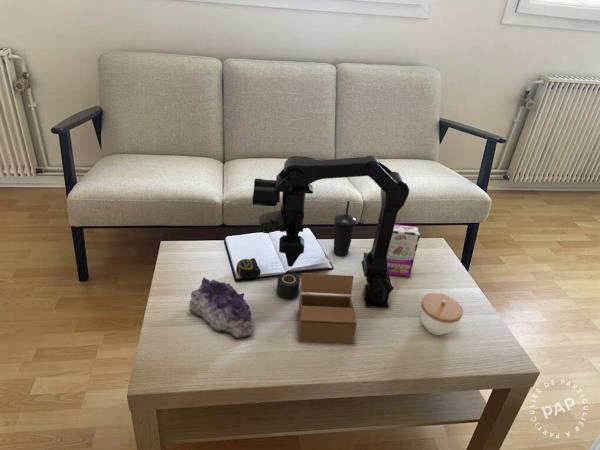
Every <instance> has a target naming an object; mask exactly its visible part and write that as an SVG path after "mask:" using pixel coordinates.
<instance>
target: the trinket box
mask: <svg viewBox="0 0 600 450" xmlns="http://www.w3.org/2000/svg"><path fill="white" fill-rule="evenodd" d="M463 314H464V309H463V307H462V305H461V304H460V303H459V302H458V301H457V300H456V299H455V298H453V297H452V296H450V295H447V294H443V293H440V292H431V293H428V294H425V295H424V296H423V297H422V299H421V302H420V307H419V318H420V322H421V324H422V325H423V326H424V328H425V330H426V331H427V332H429V333H430V334H432V335H436V336H442V335H443V336H444V335H447V334H450V333H451V332H453V331H454V330H455V329H456V328H457V326H458V325H459V323H460V321H461V318H462V317H463Z"/></svg>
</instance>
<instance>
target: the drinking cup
mask: <svg viewBox="0 0 600 450" xmlns="http://www.w3.org/2000/svg"><path fill="white" fill-rule="evenodd" d="M349 207H350V200H347V201H346V208H345V212H338V213H336V214H335V215H334V217H333V220H334V229H333V231H334V232H333V233H334V234H333V253H334V255H335V256H337V257H340V258H343V257H347V255H348V254H349V251H350V247H351V243H352V240H353V235H354V232H355V229H356V224H357V223H358V217H357V216H355V215H353V214H352V213H349Z"/></svg>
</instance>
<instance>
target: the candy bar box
mask: <svg viewBox="0 0 600 450" xmlns="http://www.w3.org/2000/svg"><path fill="white" fill-rule="evenodd" d="M420 237H421V232H420V229H419V227H418V226H412V225H403V224H395V226H394V230H393V234H392V238H391V242H390V246H389V250H388V254H387V269H388V273H389V276H396V277H397V276H398V277H405V278H410V276H411V273H412V269H413V265H414V261H415V257H416V253H417V249H418V245H419V241H420Z"/></svg>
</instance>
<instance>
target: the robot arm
mask: <svg viewBox="0 0 600 450" xmlns="http://www.w3.org/2000/svg"><path fill="white" fill-rule="evenodd" d="M359 177H369V178H370V179H371V180H373V182H374V183H375V184H376V185H377V186H378V187H379V188H380V199H381V207H380V211H379V215H378V220H377V225H376V229H375V234H374V236H373V237H374V238H373V241H372V242H373V243H372V247H371V250H370V251H369V252H365V251H364V252H363V257H362V258H363V259H362V260H361V268H362V272H363V275H364V278H365V279H366V284H364V287H363V293H362V297H363V301H364V302H365V307H367V308H384V309H388V308H389V297H390V294H391V293H392V292H393V290H394V285H393V283H392V280H391V277H390V276H391V275H389V273H388V269H387V254H388V250H389V246H390V242H391V238H392V234H393V230H394V226H395V225H396V221H397V217H398V213H399V211H400V210H401V209H402V208H403V207H404V205H405V204H406V202H407V199H408V197H409V194H410V188H409V185H408V183H407V182H406V180H405V178H404V176H403V175H402V174H401V173H400V172H397V171H392V170H391V169H390V168H389V167H388V166H387V165H386V164H384V163H382V162H381V161H379V160H378V158H377V157H376V156H373V155H367V156H361V157H347V158H344V157H343V158H331V159H316V158H312V157H309V156H301V155H293V156H290V157H288V158H287V159H286V160H285V162H284V165H283V168H282V169H281V170H280V171H279V172H278V174H277V175H276V178H275V179H263V178H254V181H253V192H252V206H261V207H276V206H278V204H280V199H282V200H281V205H280V210H277V211H276V210H275V211H271V212H266V213H263V214H261V215H260V216H259V225H260V231H261V232H262V233H263V234H270V233H273V232H275V231H277V230H279V232H280V233H285V234H283V235H281V237H280V238H279V243H278V244H279V245H278V252H279V253H281V254H284V255H285V259H286V264H287V267H293V266H294V264H295V263H296V261H297V260H298V259H299V257H300V256H301V255H302V254H304V253H305V238H303V237H302V236H301V235H299V234H300V233H302V232H304V219H305V202H306V194H308V195H309V194H313V193H314V186H313V185H312V184H313V183H314V182H317V181H319V180H320V181H321V180H327V179H343V178H359ZM281 193H282V195H281ZM281 196H282V197H281Z"/></svg>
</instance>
